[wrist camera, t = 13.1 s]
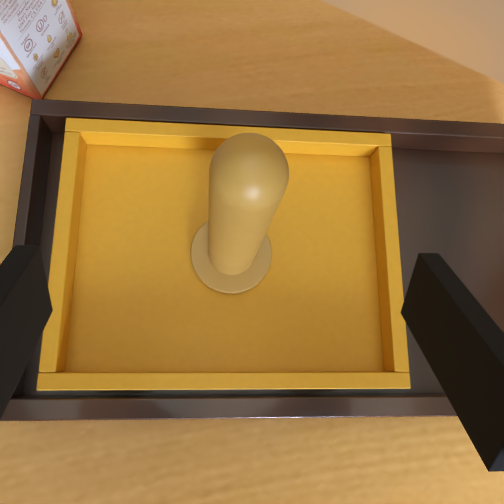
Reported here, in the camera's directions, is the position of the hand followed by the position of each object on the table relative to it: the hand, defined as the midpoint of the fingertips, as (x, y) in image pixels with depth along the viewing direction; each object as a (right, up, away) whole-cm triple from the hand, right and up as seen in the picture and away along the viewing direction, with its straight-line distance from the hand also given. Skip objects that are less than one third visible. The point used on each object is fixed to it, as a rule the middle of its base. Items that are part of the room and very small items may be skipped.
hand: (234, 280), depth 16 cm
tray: (-1, +1, +9) cm, 9 cm away
